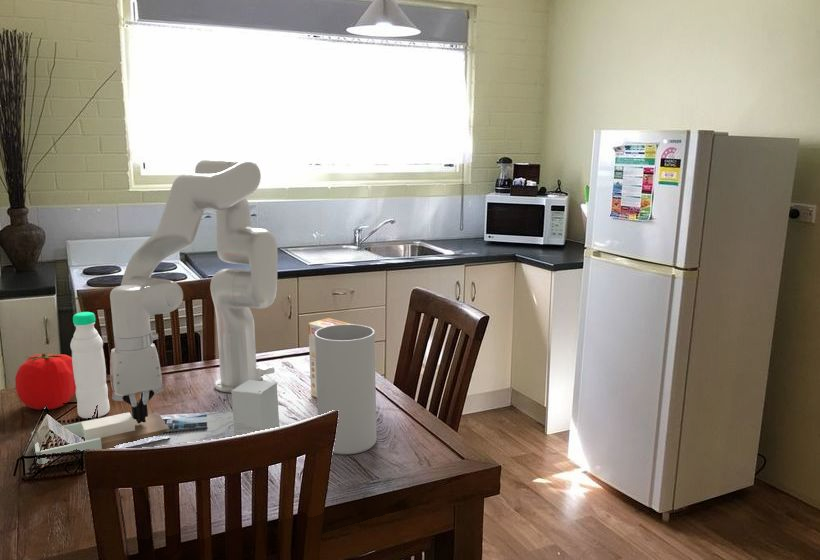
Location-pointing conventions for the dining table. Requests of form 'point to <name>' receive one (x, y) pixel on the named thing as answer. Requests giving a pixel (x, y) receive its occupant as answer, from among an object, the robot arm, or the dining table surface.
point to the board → (137, 431)
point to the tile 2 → (121, 423)
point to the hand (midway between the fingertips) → (140, 420)
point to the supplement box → (255, 406)
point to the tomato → (45, 381)
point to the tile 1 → (95, 428)
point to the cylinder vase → (348, 383)
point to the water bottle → (89, 367)
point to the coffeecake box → (312, 329)
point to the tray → (82, 445)
